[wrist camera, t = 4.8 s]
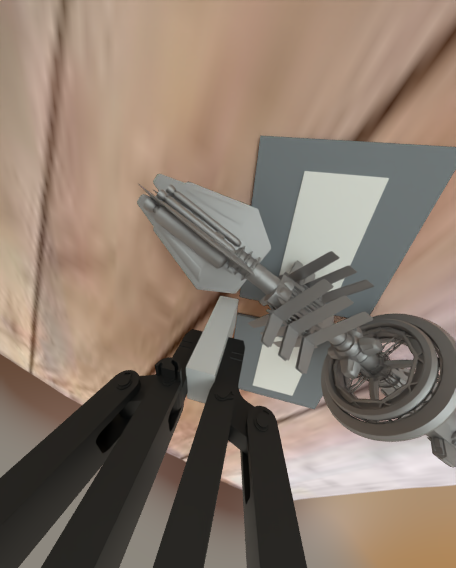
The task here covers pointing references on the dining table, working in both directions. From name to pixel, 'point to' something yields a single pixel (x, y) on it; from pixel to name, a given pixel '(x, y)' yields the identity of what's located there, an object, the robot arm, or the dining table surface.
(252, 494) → the robot arm
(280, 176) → the label cards
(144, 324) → the dining table surface
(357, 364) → the spaceship
